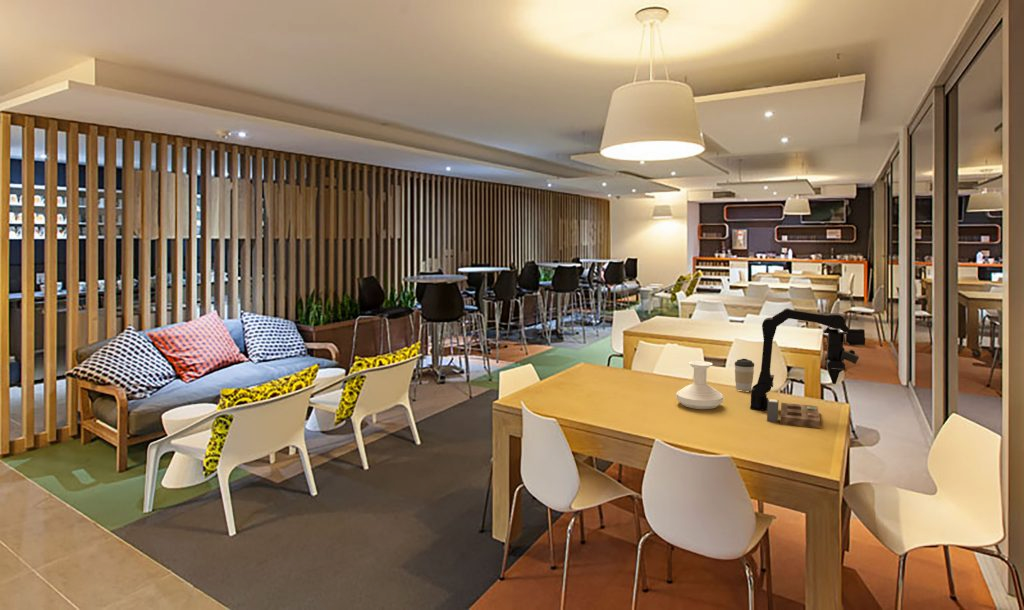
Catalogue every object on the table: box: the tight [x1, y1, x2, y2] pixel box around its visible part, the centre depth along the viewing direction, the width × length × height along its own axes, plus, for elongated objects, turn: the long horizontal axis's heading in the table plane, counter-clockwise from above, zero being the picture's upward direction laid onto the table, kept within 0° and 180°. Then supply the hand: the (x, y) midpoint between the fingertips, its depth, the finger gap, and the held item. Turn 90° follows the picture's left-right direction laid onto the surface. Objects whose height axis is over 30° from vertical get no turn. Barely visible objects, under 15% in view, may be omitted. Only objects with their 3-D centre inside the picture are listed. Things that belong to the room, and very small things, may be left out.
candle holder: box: [676, 360, 724, 410], centre depth 261 cm, size 20×20×19 cm
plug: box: [766, 398, 780, 423], centre depth 240 cm, size 4×4×8 cm
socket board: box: [780, 402, 821, 429], centre depth 243 cm, size 14×22×4 cm, turn 155°
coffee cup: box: [734, 358, 755, 392], centre depth 287 cm, size 9×9×15 cm
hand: (833, 381), depth 244 cm, fingers open, 9 cm apart
